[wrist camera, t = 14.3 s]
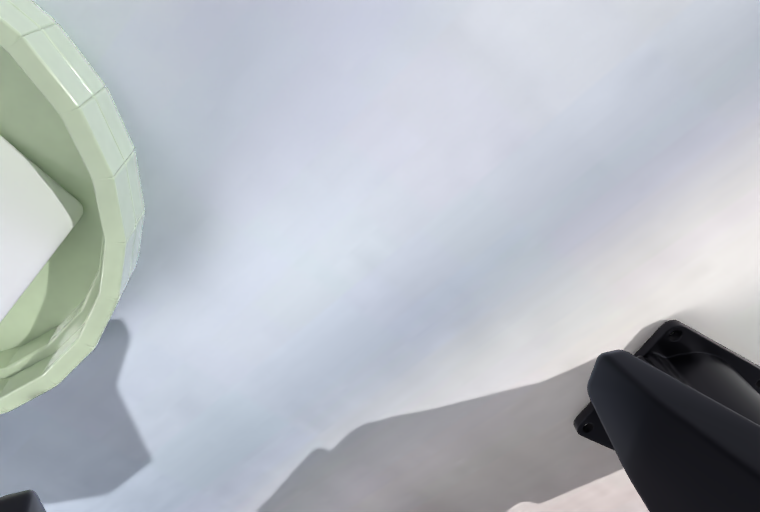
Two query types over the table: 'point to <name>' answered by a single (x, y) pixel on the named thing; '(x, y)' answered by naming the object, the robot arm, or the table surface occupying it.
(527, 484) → the table surface
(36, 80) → the bowl
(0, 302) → the medicine bottle
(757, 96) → the table surface
